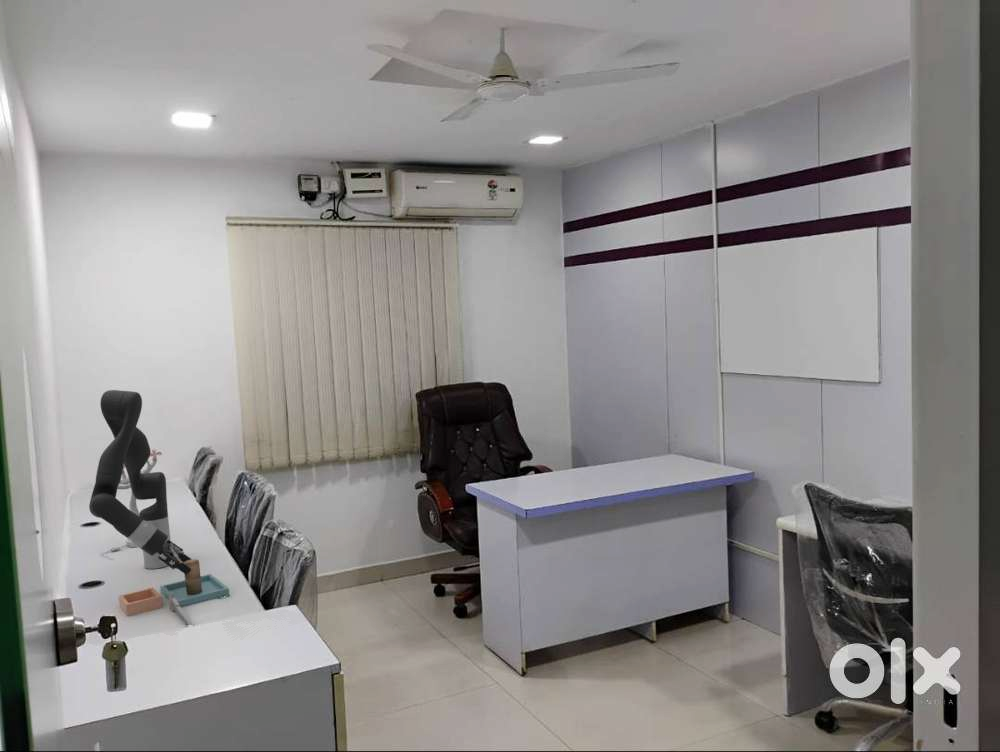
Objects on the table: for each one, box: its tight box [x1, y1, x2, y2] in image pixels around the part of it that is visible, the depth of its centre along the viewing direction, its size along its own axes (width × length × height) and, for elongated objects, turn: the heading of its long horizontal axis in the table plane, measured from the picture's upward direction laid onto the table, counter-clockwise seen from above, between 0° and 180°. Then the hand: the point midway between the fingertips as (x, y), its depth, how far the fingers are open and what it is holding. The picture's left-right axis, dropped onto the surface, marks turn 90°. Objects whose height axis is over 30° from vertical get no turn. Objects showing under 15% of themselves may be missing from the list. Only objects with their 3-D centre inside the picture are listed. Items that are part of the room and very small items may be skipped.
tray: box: [159, 573, 230, 608], centre depth 257 cm, size 18×16×2 cm
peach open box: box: [118, 587, 163, 617], centre depth 247 cm, size 10×10×4 cm
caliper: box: [168, 592, 194, 626], centre depth 237 cm, size 20×1×6 cm, turn 39°
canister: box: [184, 558, 202, 595], centre depth 256 cm, size 5×5×10 cm
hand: (190, 567), depth 256 cm, fingers open, 8 cm apart
